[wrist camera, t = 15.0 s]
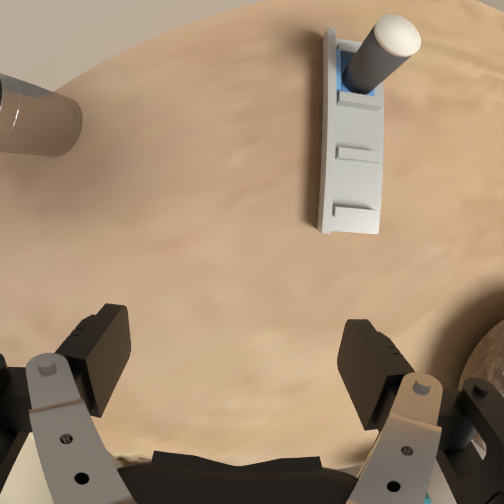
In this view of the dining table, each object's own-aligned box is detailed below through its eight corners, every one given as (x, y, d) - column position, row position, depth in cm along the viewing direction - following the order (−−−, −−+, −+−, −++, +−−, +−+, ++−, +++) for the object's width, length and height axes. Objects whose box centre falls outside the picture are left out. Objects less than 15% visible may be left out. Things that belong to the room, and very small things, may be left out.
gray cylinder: (342, 92, 35) (378, 47, 21) (341, 62, 34) (374, 9, 20) (374, 97, 35) (423, 59, 21) (373, 68, 34) (418, 21, 20)
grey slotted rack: (316, 228, 40) (321, 233, 36) (322, 39, 35) (327, 26, 31) (375, 233, 40) (386, 237, 36) (378, 49, 34) (387, 37, 31)
